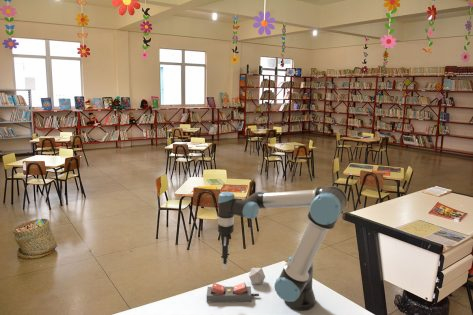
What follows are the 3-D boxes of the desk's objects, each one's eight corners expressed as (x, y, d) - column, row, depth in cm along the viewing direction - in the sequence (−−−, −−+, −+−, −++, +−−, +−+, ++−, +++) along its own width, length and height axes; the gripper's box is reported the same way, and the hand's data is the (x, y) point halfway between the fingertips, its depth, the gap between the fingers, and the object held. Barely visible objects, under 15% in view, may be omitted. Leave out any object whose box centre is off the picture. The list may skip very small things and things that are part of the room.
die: (260, 290, 194) (269, 273, 195) (245, 281, 194) (255, 264, 196) (258, 287, 202) (268, 271, 204) (244, 278, 203) (254, 262, 204)
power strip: (258, 292, 190) (258, 285, 190) (259, 301, 183) (259, 294, 182) (207, 292, 190) (207, 286, 190) (206, 302, 183) (206, 294, 182)
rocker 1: (223, 290, 188) (224, 286, 188) (222, 295, 184) (224, 290, 183) (211, 286, 188) (213, 282, 187) (211, 291, 183) (212, 287, 183)
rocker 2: (246, 286, 188) (244, 282, 187) (246, 291, 183) (244, 287, 183) (235, 290, 188) (233, 286, 188) (235, 295, 184) (233, 290, 183)
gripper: (218, 218, 185) (218, 261, 190) (217, 229, 173) (216, 275, 178) (234, 219, 185) (232, 262, 190) (233, 229, 172) (232, 275, 178)
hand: (224, 268), depth 184 cm, fingers closed
